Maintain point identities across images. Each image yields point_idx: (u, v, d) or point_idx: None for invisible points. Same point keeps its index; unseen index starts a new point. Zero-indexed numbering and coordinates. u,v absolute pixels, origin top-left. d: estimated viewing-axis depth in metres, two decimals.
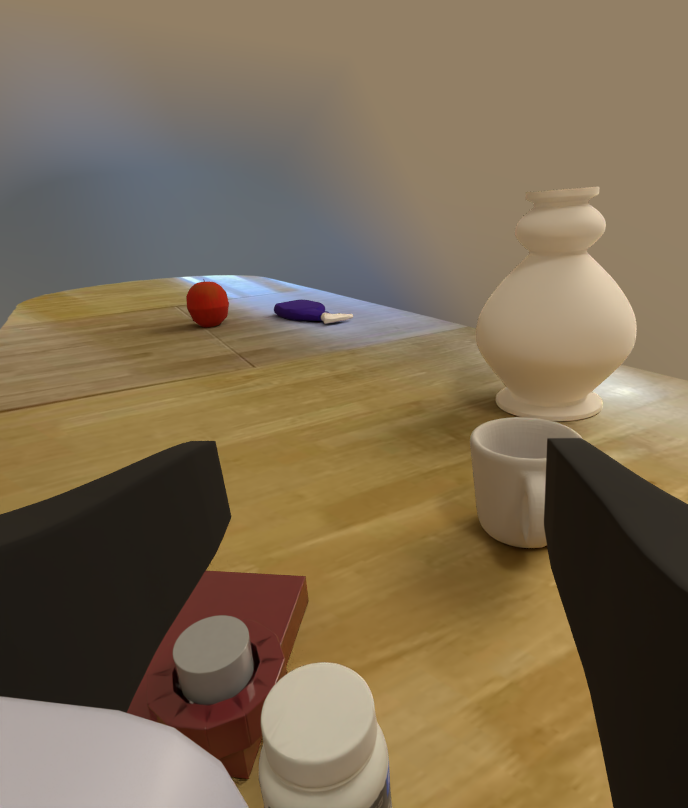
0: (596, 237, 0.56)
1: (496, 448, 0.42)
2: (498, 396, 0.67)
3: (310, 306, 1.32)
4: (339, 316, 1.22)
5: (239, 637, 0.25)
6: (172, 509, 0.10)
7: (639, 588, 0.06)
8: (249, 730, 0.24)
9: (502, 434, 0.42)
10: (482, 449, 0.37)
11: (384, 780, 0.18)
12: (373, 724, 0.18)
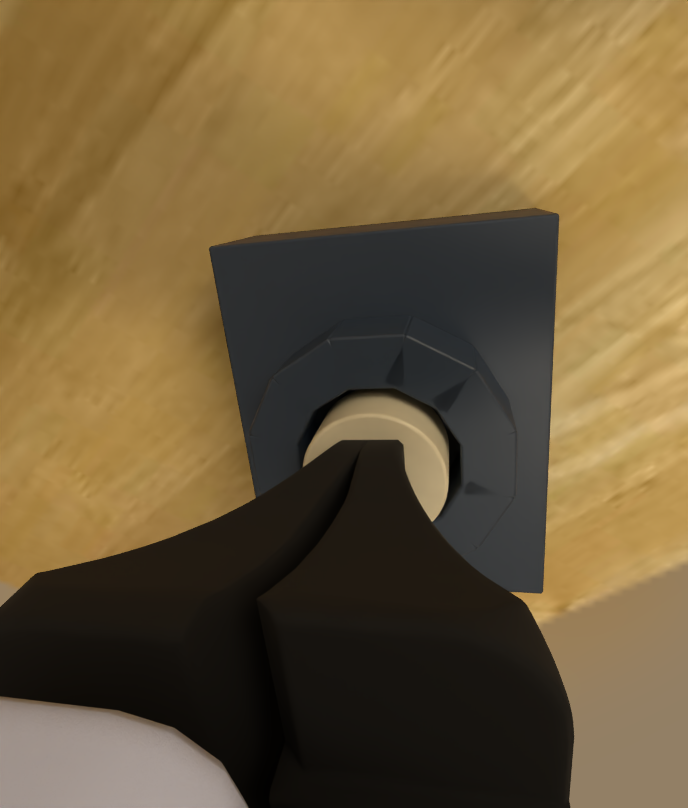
0: None
1: None
2: None
3: None
4: None
5: None
6: None
7: None
8: None
9: None
10: None
11: None
12: None
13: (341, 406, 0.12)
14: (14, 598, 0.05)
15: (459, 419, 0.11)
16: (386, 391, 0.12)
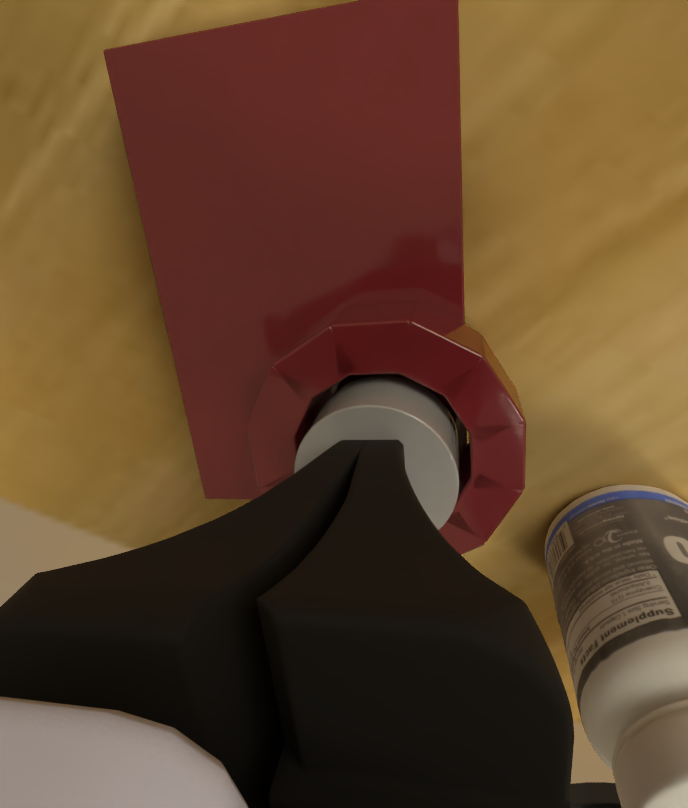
0: None
1: None
2: None
3: None
4: None
5: (432, 465, 0.11)
6: None
7: None
8: None
9: None
10: None
11: None
12: None
13: None
14: (14, 598, 0.05)
15: None
16: None
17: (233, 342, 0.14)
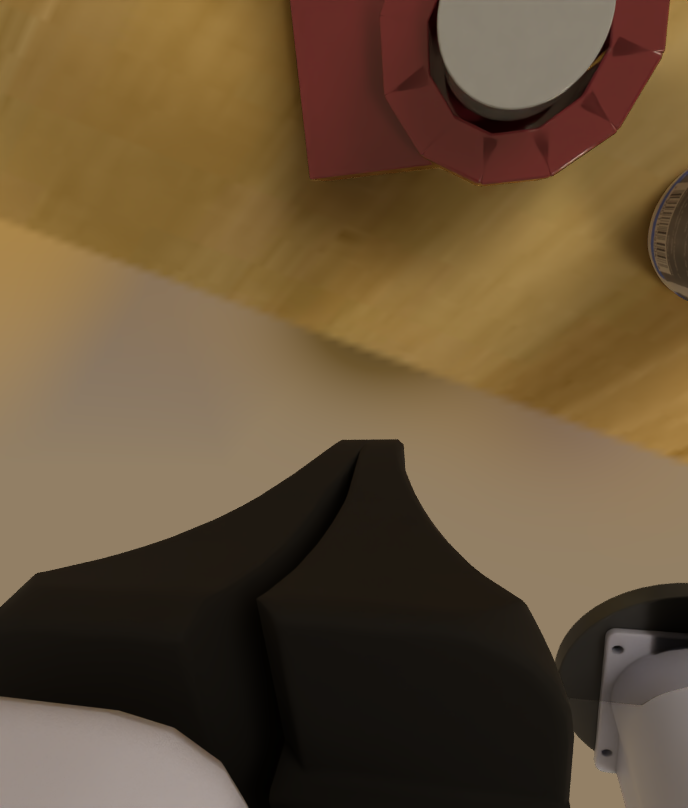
0: None
1: None
2: None
3: None
4: None
5: None
6: None
7: None
8: None
9: None
10: None
11: None
12: None
13: None
14: (14, 598, 0.05)
15: None
16: None
17: None
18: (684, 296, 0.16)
